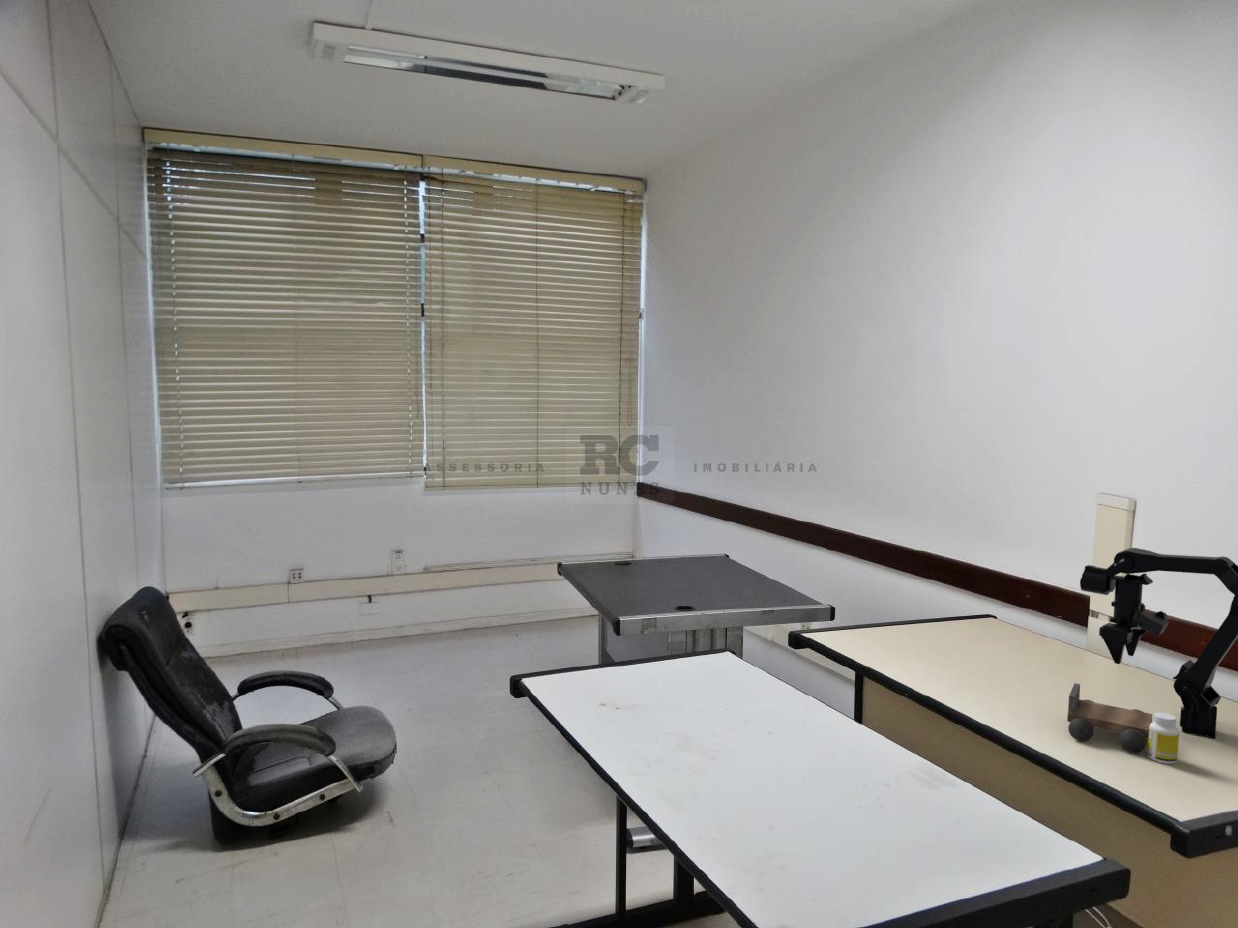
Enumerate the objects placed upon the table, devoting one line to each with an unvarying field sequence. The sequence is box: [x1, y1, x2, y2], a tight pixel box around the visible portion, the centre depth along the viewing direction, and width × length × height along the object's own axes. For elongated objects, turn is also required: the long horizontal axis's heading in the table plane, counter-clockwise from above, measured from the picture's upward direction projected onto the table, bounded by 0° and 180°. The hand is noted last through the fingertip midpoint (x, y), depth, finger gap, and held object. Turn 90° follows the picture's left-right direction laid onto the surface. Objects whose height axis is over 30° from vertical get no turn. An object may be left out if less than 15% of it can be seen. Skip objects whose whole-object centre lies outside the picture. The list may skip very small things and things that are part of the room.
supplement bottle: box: [1147, 712, 1180, 765], centre depth 175 cm, size 5×5×10 cm
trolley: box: [1066, 682, 1153, 754], centre depth 187 cm, size 16×15×9 cm
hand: (1124, 659), depth 202 cm, fingers open, 9 cm apart
